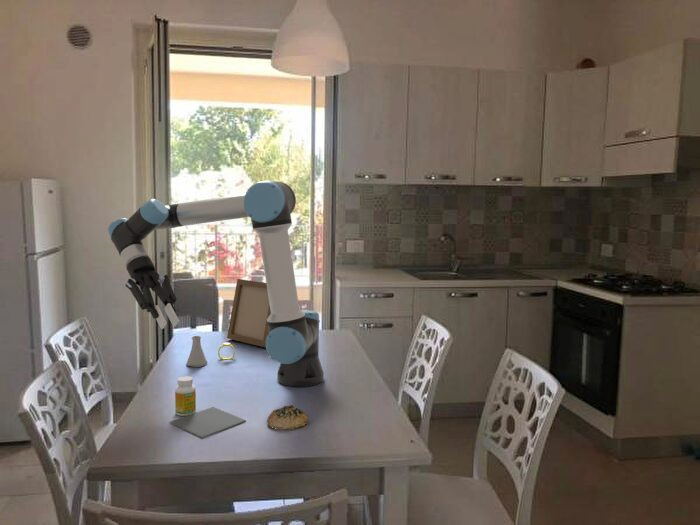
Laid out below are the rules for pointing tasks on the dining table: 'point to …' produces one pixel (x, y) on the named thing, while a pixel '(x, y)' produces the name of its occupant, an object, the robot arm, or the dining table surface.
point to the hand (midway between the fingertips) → (170, 324)
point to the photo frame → (250, 313)
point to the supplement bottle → (185, 397)
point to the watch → (226, 345)
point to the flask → (196, 354)
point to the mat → (207, 422)
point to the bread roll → (287, 418)
